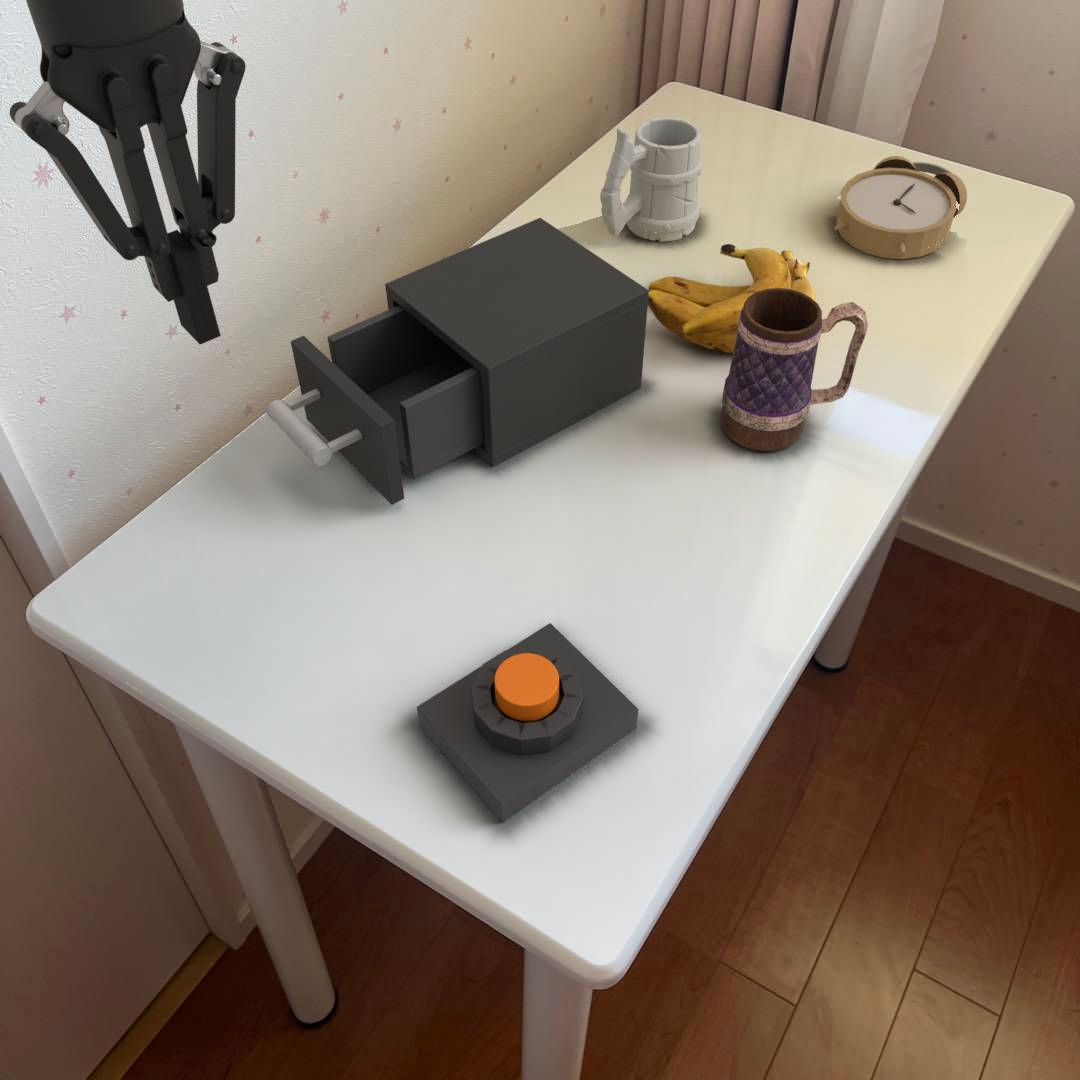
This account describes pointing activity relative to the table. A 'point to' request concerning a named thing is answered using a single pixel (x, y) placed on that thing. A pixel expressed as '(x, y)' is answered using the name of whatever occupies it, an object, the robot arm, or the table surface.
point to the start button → (526, 687)
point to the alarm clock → (900, 208)
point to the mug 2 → (781, 367)
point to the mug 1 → (655, 180)
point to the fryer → (533, 330)
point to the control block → (526, 726)
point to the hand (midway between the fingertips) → (200, 330)
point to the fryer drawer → (384, 401)
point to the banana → (723, 297)
